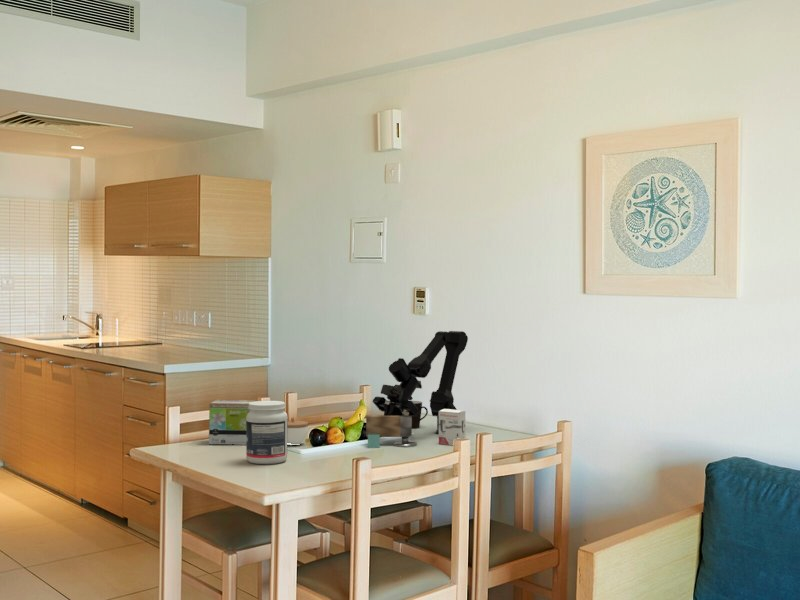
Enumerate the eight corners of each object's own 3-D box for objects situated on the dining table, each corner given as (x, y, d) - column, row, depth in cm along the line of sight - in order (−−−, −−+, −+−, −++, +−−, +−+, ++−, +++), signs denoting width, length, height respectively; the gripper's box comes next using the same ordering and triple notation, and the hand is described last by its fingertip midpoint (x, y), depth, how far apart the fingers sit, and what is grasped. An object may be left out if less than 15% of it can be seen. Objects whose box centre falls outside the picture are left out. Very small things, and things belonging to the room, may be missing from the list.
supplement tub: (252, 457, 278) (252, 399, 278) (291, 457, 277) (291, 400, 277) (240, 464, 265) (240, 405, 265) (282, 465, 264) (282, 405, 264)
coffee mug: (396, 426, 342) (396, 401, 342) (416, 425, 345) (416, 400, 345) (409, 431, 331) (409, 404, 331) (429, 429, 335) (429, 403, 335)
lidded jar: (305, 441, 307) (305, 415, 307) (310, 446, 297) (310, 419, 297) (275, 442, 305) (275, 416, 304) (279, 448, 294) (279, 420, 294)
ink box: (437, 444, 302) (437, 410, 302) (443, 442, 307) (443, 408, 307) (460, 446, 298) (460, 411, 298) (466, 444, 303) (466, 410, 303)
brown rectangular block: (411, 435, 302) (411, 415, 302) (411, 437, 298) (411, 417, 298) (367, 434, 303) (367, 415, 303) (365, 437, 299) (366, 416, 299)
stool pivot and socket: (371, 442, 306) (371, 429, 306) (417, 443, 304) (417, 430, 304) (366, 447, 295) (366, 434, 295) (415, 448, 293) (415, 435, 293)
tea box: (208, 445, 299) (208, 402, 299) (213, 440, 309) (213, 399, 309) (252, 445, 300) (252, 402, 300) (256, 440, 310) (256, 399, 310)
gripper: (375, 374, 313) (353, 408, 305) (412, 377, 299) (389, 413, 292) (392, 393, 318) (370, 427, 311) (428, 398, 305) (406, 433, 298)
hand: (383, 425), depth 303 cm, fingers closed
